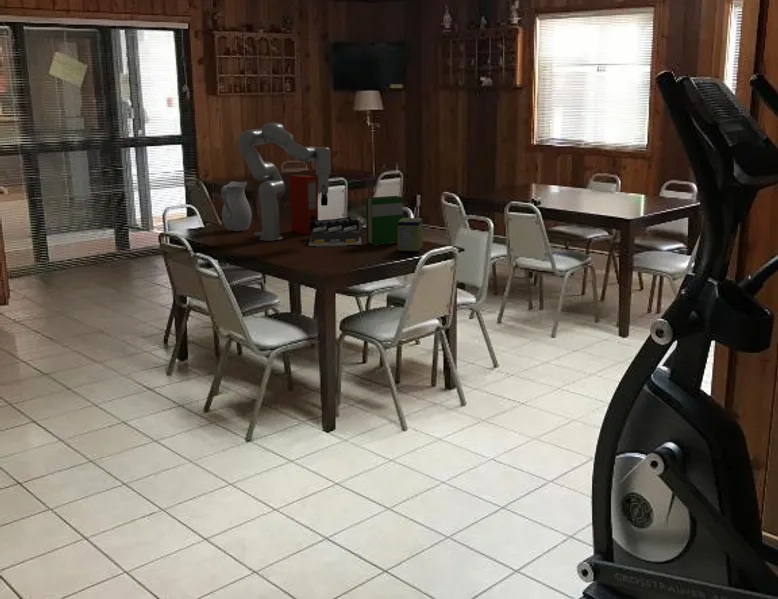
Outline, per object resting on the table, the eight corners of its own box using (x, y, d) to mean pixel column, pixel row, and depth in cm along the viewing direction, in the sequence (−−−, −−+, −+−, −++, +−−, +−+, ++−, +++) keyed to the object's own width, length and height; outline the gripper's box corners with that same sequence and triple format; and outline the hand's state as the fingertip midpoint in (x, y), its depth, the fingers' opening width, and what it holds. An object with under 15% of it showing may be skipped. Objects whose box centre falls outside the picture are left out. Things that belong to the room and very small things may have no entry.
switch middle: (328, 232, 443) (328, 229, 443) (329, 230, 448) (328, 228, 448) (341, 229, 443) (340, 226, 442) (341, 227, 448) (340, 224, 448)
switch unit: (308, 246, 436) (308, 234, 435) (310, 240, 455) (310, 228, 454) (361, 245, 437) (360, 233, 436) (360, 239, 456) (360, 227, 455)
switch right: (344, 232, 443) (343, 229, 443) (344, 230, 449) (343, 228, 448) (356, 228, 443) (356, 226, 443) (356, 227, 449) (356, 224, 448)
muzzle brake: (309, 238, 463) (308, 219, 461) (353, 233, 478) (352, 215, 476) (318, 240, 455) (317, 221, 453) (362, 235, 470) (361, 216, 468)
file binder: (303, 229, 492) (301, 174, 484) (318, 233, 478) (317, 176, 470) (291, 231, 487) (289, 175, 480) (306, 235, 473) (304, 177, 466)
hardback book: (372, 245, 436) (371, 199, 431) (366, 243, 443) (365, 197, 437) (403, 242, 444) (402, 197, 438) (396, 240, 450) (396, 195, 445)
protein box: (422, 248, 427) (422, 217, 423) (418, 254, 412) (418, 222, 408) (402, 248, 429) (402, 217, 425) (397, 253, 414) (397, 222, 410)
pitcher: (232, 228, 502) (229, 180, 496) (257, 229, 497) (255, 181, 490) (211, 234, 481) (207, 184, 474) (237, 235, 475) (234, 185, 468)
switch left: (313, 232, 443) (312, 230, 442) (314, 231, 448) (313, 228, 448) (326, 229, 443) (325, 226, 442) (326, 227, 448) (325, 225, 448)
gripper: (316, 170, 447) (317, 202, 451) (315, 172, 430) (316, 206, 434) (330, 169, 447) (331, 202, 451) (330, 172, 430) (331, 206, 434)
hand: (324, 204), depth 443 cm, fingers open, 9 cm apart
